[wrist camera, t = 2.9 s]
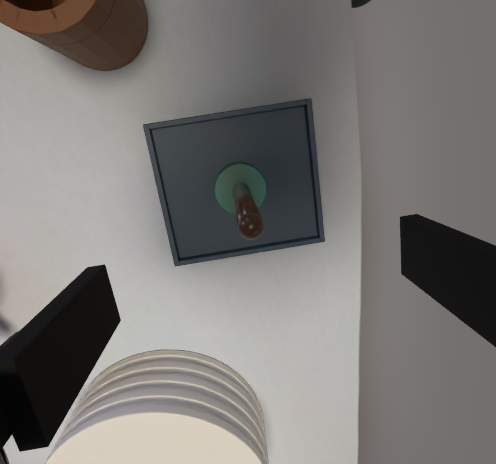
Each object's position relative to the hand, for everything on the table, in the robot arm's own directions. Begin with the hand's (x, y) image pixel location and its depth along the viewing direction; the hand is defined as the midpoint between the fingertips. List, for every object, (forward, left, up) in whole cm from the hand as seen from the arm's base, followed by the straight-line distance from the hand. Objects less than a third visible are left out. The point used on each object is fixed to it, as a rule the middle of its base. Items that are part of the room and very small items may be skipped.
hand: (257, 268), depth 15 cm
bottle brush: (0, 0, -28) cm, 28 cm away
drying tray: (0, 0, -28) cm, 28 cm away
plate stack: (+16, +35, -29) cm, 48 cm away
